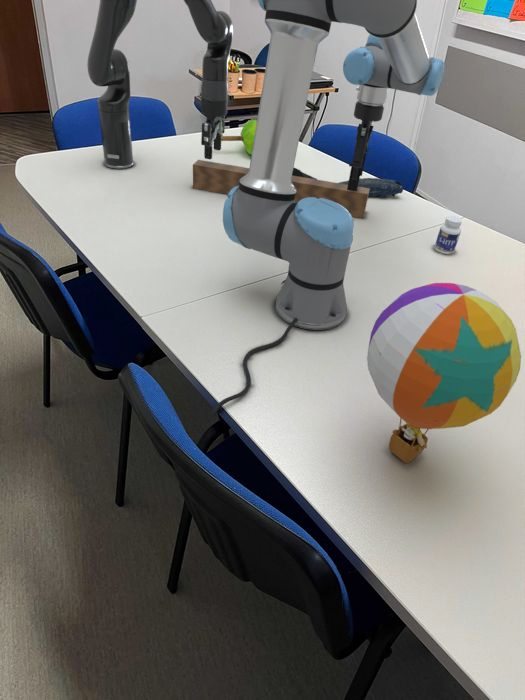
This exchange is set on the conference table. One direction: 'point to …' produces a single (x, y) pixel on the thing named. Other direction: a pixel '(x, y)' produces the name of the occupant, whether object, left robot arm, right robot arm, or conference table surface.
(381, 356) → the toy
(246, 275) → the conference table surface
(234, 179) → the post
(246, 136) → the decorative tree
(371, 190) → the fish model
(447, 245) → the pill bottle
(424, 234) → the conference table surface
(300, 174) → the handheld gaming console
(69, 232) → the conference table surface
